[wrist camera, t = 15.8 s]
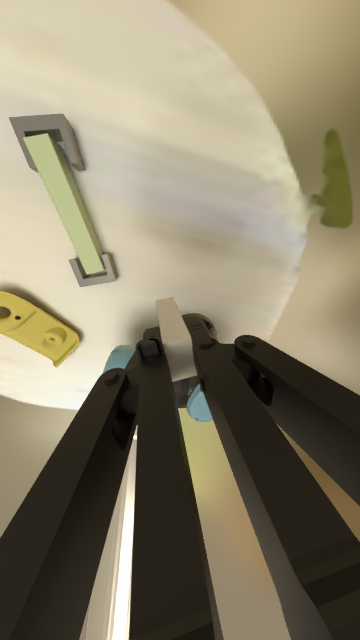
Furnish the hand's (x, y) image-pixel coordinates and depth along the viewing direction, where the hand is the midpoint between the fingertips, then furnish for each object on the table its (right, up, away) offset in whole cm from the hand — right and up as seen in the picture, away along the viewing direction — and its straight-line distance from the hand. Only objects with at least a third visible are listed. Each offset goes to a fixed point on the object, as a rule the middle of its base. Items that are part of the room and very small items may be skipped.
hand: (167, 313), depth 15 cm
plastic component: (-34, -1, +26) cm, 43 cm away
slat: (-19, +20, +19) cm, 33 cm away
